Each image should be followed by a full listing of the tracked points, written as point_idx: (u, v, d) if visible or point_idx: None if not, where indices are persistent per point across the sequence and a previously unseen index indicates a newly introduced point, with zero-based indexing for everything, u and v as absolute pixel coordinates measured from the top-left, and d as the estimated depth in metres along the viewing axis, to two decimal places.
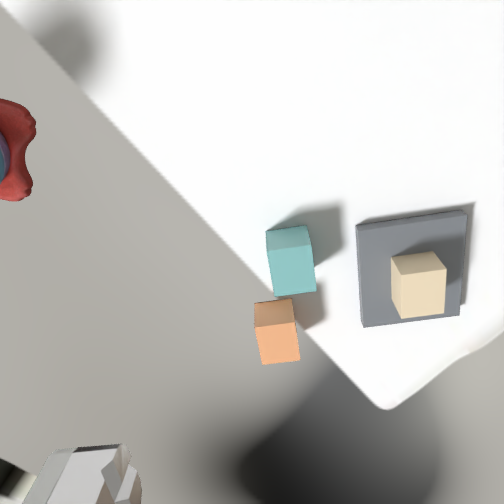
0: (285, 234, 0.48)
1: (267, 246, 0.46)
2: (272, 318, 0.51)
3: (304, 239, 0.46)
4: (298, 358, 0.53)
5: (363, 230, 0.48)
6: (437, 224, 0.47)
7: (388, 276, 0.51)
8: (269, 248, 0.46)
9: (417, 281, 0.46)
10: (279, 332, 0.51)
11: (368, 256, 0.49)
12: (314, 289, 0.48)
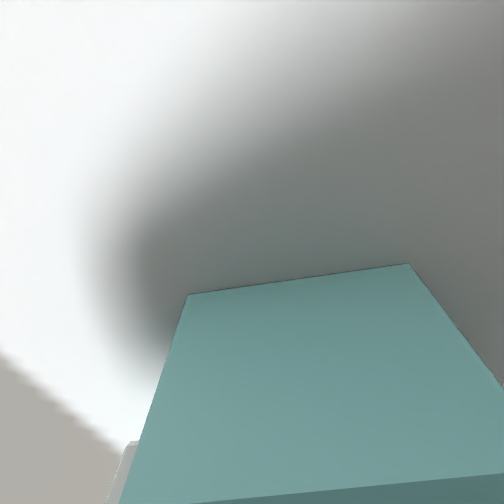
0: (293, 324, 0.08)
1: (148, 436, 0.06)
2: None
3: (446, 376, 0.06)
4: None
5: None
6: None
7: None
8: (158, 463, 0.05)
9: None
10: None
11: None
12: None
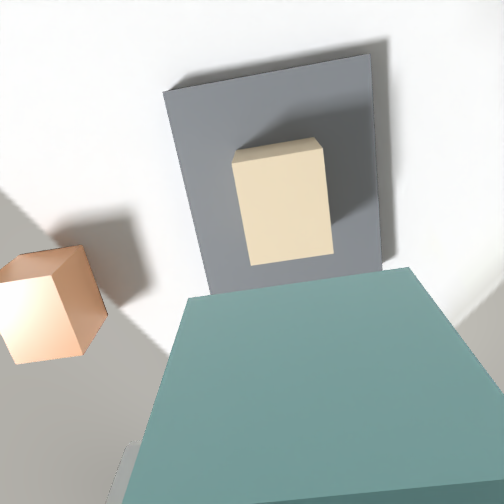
0: (294, 328, 0.08)
1: (149, 440, 0.06)
2: (22, 272, 0.27)
3: (446, 381, 0.06)
4: (78, 351, 0.28)
5: (172, 90, 0.25)
6: (314, 75, 0.24)
7: None
8: (159, 467, 0.05)
9: (266, 179, 0.23)
10: (28, 296, 0.26)
11: (192, 147, 0.26)
12: None
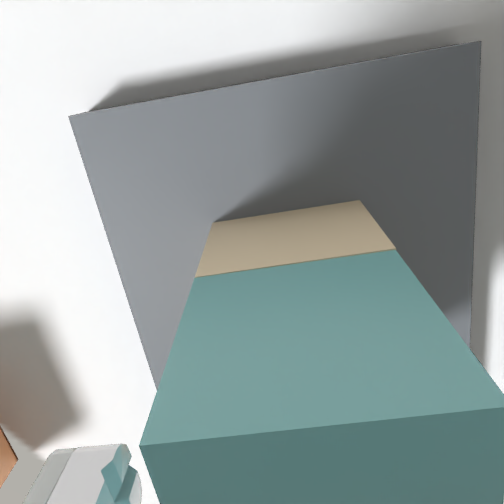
0: (290, 300, 0.08)
1: (164, 390, 0.07)
2: None
3: (421, 340, 0.07)
4: None
5: (88, 113, 0.13)
6: (364, 85, 0.12)
7: None
8: (173, 409, 0.06)
9: None
10: None
11: (132, 218, 0.14)
12: None
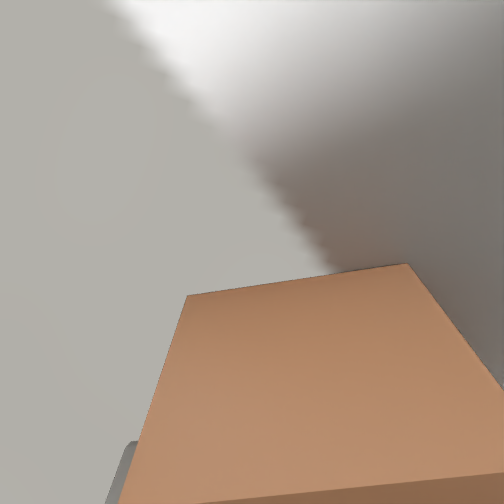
0: None
1: None
2: (303, 407, 0.06)
3: None
4: None
5: None
6: None
7: None
8: None
9: None
10: None
11: None
12: None
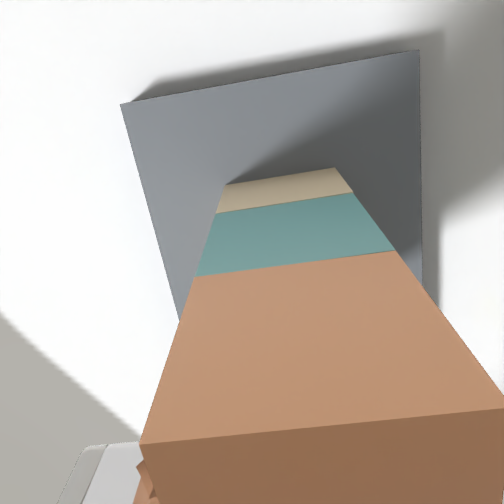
0: (280, 220, 0.13)
1: (204, 259, 0.11)
2: (299, 366, 0.07)
3: (356, 231, 0.11)
4: None
5: (134, 102, 0.17)
6: (336, 81, 0.17)
7: None
8: (211, 265, 0.11)
9: None
10: (361, 487, 0.06)
11: (164, 181, 0.19)
12: None
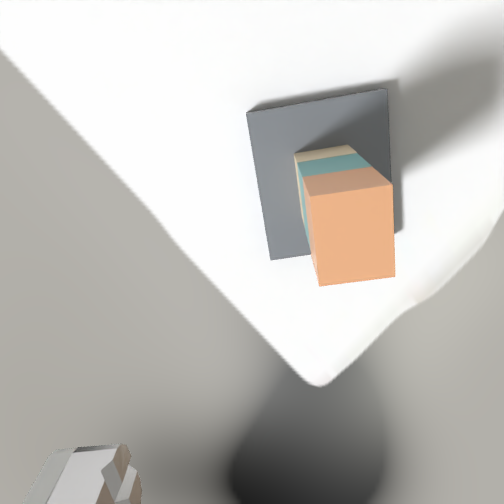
0: (327, 162, 0.32)
1: (302, 173, 0.30)
2: (344, 185, 0.26)
3: (358, 163, 0.30)
4: (391, 272, 0.27)
5: (253, 113, 0.36)
6: (349, 103, 0.36)
7: (293, 183, 0.39)
8: (306, 174, 0.30)
9: None
10: (360, 208, 0.25)
11: (264, 151, 0.38)
12: None
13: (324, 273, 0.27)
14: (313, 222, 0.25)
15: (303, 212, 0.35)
